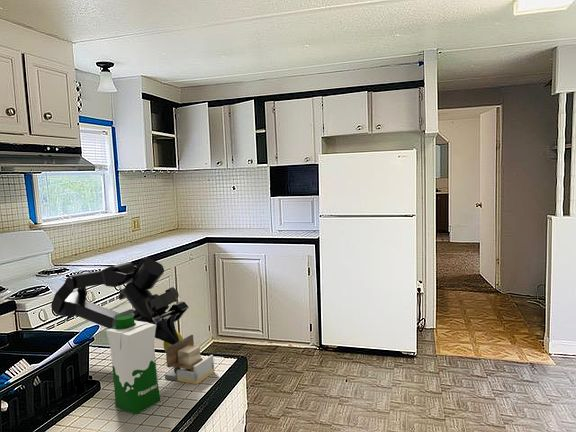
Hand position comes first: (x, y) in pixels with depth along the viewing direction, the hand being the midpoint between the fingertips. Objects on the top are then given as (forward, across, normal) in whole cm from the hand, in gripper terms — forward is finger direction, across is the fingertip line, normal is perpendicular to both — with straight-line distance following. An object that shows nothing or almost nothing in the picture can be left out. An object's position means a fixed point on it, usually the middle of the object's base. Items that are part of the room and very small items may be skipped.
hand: (178, 344), depth 116 cm
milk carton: (+7, -16, +4) cm, 18 cm away
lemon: (-1, +8, +12) cm, 14 cm away
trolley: (+7, 0, +3) cm, 7 cm away
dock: (+8, 0, +3) cm, 8 cm away
